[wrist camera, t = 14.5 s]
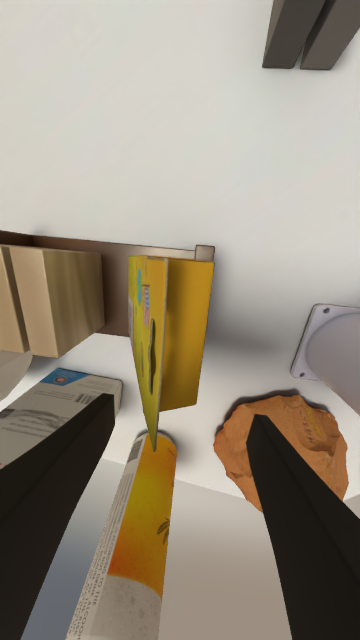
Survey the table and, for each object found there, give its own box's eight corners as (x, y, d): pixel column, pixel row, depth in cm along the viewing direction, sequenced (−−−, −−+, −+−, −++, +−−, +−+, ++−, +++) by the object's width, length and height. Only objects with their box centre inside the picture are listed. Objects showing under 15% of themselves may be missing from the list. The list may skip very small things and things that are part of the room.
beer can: (159, 465, 26) (114, 712, 12) (126, 443, 25) (35, 682, 11) (186, 445, 24) (172, 709, 10) (151, 421, 23) (81, 671, 9)
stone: (231, 368, 23) (300, 412, 13) (318, 391, 26) (425, 440, 16) (197, 480, 22) (240, 611, 13) (288, 489, 26) (379, 599, 16)
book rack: (212, 252, 16) (225, 247, 9) (199, 341, 19) (201, 390, 12) (26, 235, 17) (-96, 216, 10) (41, 322, 20) (-45, 356, 13)
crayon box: (158, 333, 18) (215, 441, 8) (128, 335, 17) (146, 461, 7) (162, 257, 16) (252, 263, 5) (127, 253, 15) (154, 254, 4)
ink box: (58, 397, 23) (-67, 521, 12) (56, 366, 22) (-91, 476, 11) (120, 410, 23) (50, 549, 12) (123, 380, 22) (44, 508, 10)
